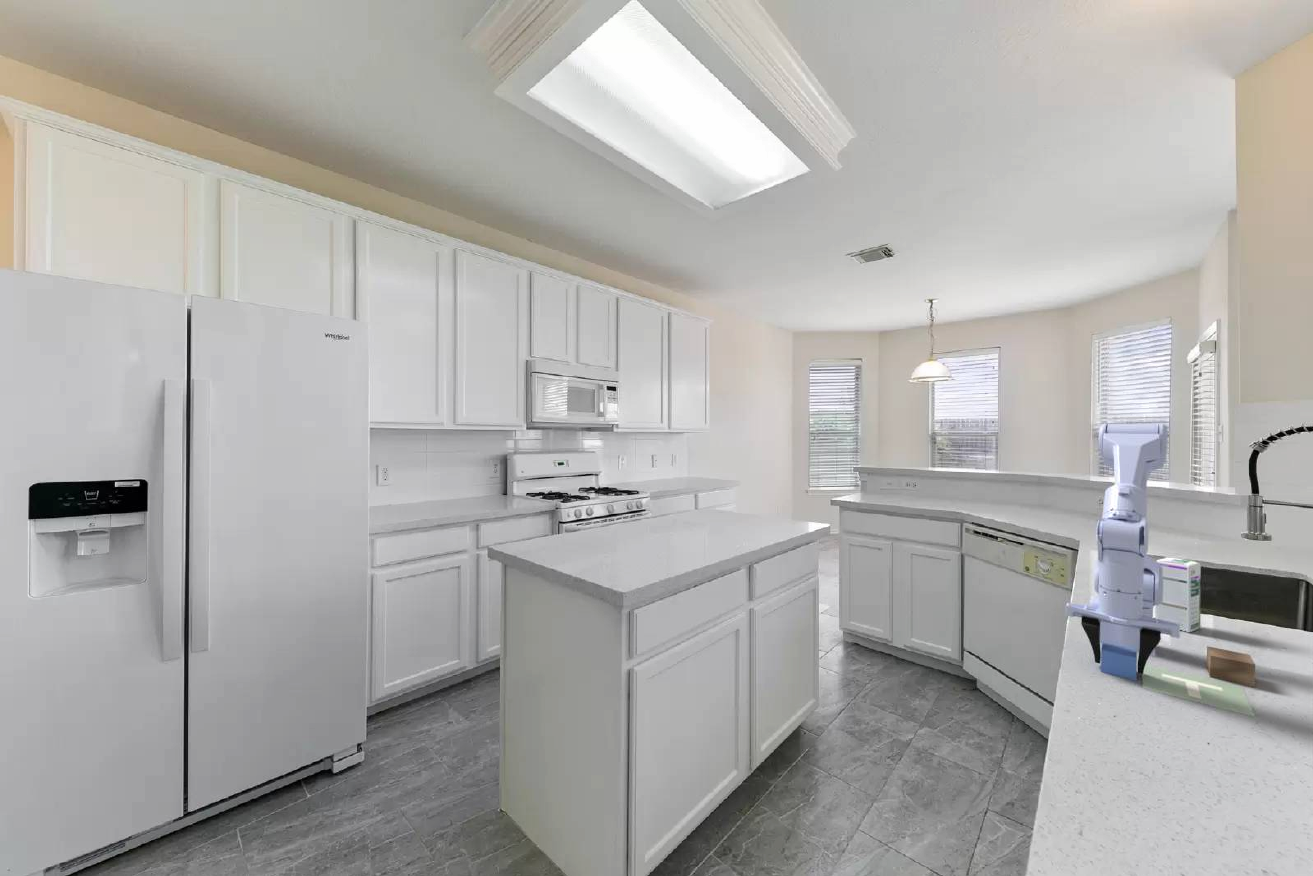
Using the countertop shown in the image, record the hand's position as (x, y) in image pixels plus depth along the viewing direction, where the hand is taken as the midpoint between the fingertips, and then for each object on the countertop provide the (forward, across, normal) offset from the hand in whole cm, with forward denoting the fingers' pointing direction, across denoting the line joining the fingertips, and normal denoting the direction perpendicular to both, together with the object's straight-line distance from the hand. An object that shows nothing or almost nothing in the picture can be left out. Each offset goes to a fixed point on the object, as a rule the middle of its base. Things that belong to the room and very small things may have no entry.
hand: (1118, 666), depth 89 cm
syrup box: (+2, +9, +39) cm, 40 cm away
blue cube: (+2, 0, 0) cm, 2 cm away
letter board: (+2, +9, +1) cm, 9 cm away
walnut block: (+2, +14, +11) cm, 18 cm away
